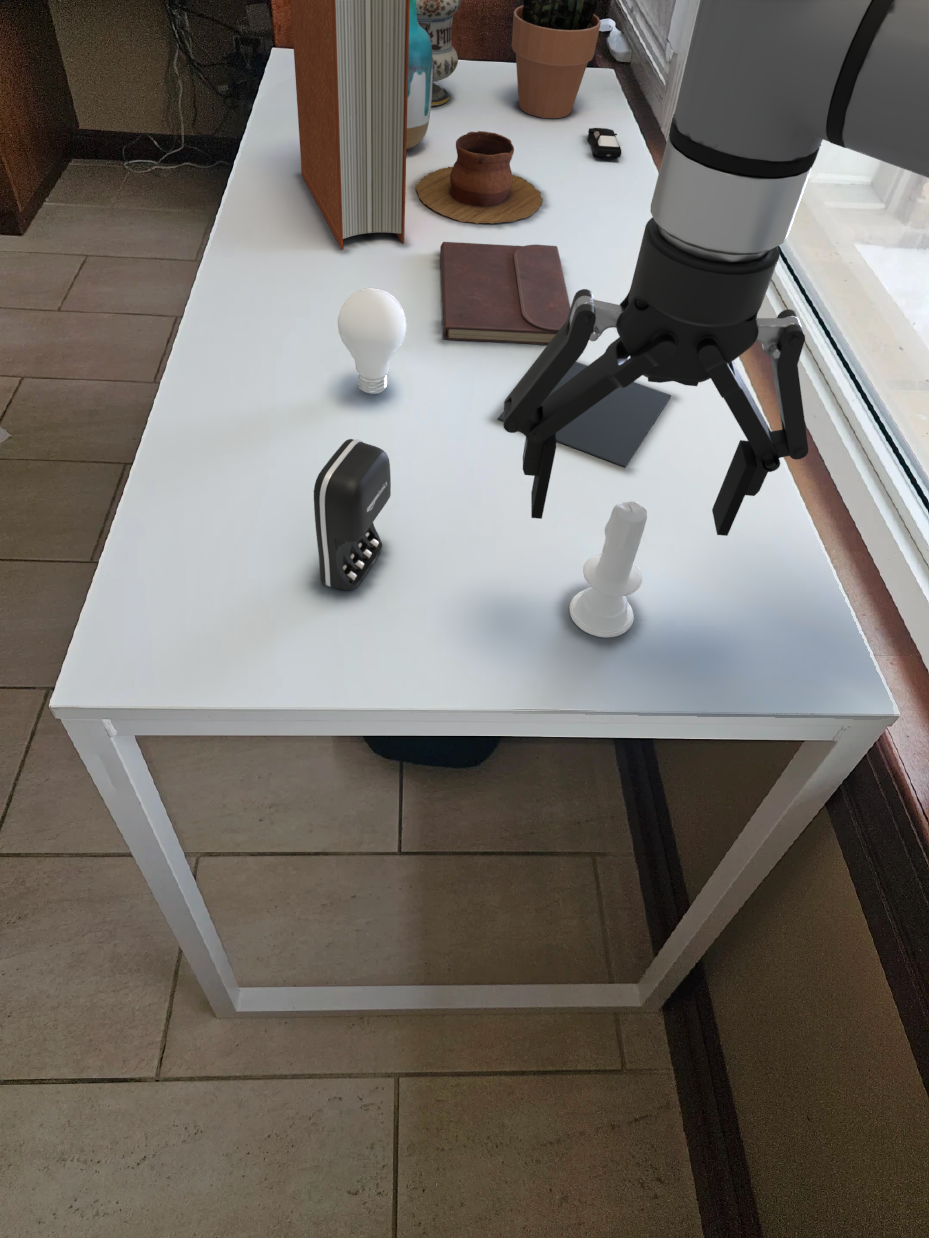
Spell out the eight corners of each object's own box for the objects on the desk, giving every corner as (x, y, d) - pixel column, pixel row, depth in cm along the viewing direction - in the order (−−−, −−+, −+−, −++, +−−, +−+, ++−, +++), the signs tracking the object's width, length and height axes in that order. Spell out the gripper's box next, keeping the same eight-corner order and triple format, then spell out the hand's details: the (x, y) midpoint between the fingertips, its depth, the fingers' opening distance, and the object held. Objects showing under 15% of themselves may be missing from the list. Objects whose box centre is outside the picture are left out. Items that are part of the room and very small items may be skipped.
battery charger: (359, 601, 71) (356, 496, 62) (317, 586, 72) (309, 480, 63) (394, 547, 75) (397, 441, 67) (355, 533, 76) (352, 427, 67)
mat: (671, 396, 93) (671, 395, 93) (625, 467, 85) (625, 466, 85) (552, 355, 97) (552, 353, 96) (497, 419, 88) (497, 417, 88)
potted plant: (507, 89, 149) (526, -95, 130) (586, 99, 149) (616, -85, 130) (501, 119, 140) (520, -75, 121) (585, 129, 140) (617, -63, 121)
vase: (396, 126, 135) (398, -22, 121) (444, 149, 131) (452, -2, 116) (344, 142, 130) (339, -11, 115) (392, 167, 125) (394, 11, 111)
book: (404, 243, 111) (410, -44, 88) (341, 250, 108) (332, -44, 86) (356, 168, 124) (351, -99, 101) (299, 172, 122) (281, -100, 99)
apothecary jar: (464, 109, 142) (473, -24, 128) (392, 111, 139) (393, -25, 125) (444, 82, 149) (451, -46, 136) (376, 83, 146) (376, -48, 133)
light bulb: (332, 405, 88) (328, 305, 79) (349, 369, 92) (346, 270, 84) (397, 416, 87) (399, 316, 79) (410, 378, 92) (413, 281, 83)
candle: (560, 624, 71) (587, 516, 62) (580, 581, 74) (608, 473, 65) (623, 647, 70) (659, 540, 61) (640, 602, 73) (677, 495, 64)
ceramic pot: (565, 215, 120) (574, 161, 114) (450, 233, 114) (453, 177, 108) (505, 161, 130) (510, 110, 124) (395, 176, 124) (396, 122, 118)
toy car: (585, 135, 139) (588, 117, 136) (610, 136, 139) (613, 118, 137) (594, 161, 132) (597, 142, 130) (620, 163, 132) (624, 144, 130)
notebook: (442, 339, 97) (443, 323, 95) (440, 253, 110) (440, 238, 108) (575, 346, 98) (578, 330, 97) (557, 260, 111) (559, 245, 109)
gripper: (917, 221, 50) (785, 495, 66) (490, 176, 50) (461, 465, 66) (959, 287, 45) (805, 566, 62) (487, 239, 45) (456, 534, 61)
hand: (628, 514), depth 64 cm, fingers open, 13 cm apart
